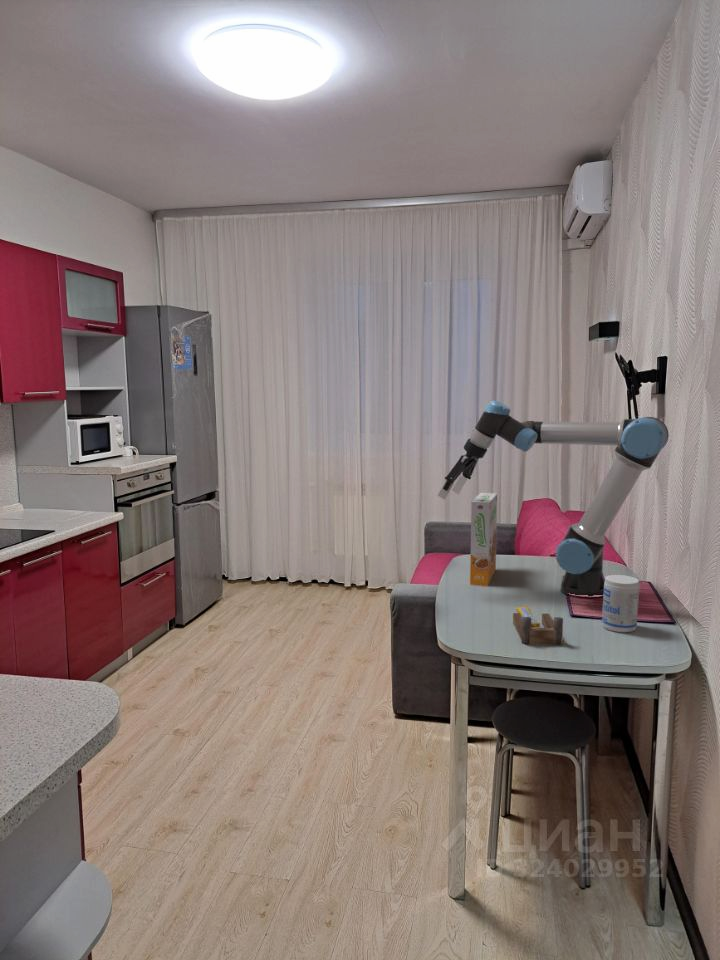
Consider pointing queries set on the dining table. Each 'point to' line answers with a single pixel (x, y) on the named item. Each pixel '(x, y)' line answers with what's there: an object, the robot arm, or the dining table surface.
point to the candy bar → (527, 615)
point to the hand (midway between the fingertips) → (448, 494)
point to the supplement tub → (620, 603)
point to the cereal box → (483, 538)
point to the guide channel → (539, 630)
